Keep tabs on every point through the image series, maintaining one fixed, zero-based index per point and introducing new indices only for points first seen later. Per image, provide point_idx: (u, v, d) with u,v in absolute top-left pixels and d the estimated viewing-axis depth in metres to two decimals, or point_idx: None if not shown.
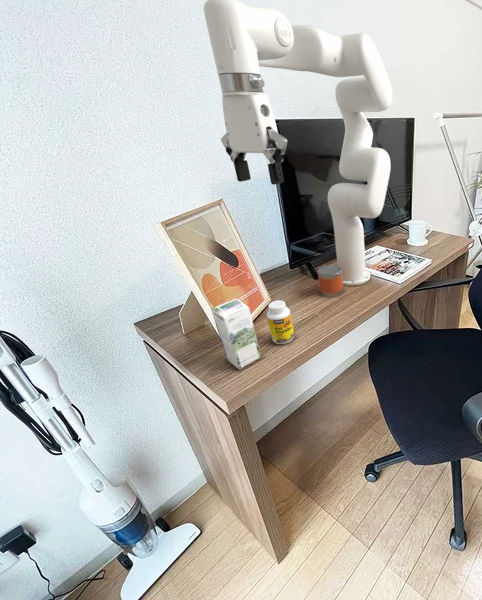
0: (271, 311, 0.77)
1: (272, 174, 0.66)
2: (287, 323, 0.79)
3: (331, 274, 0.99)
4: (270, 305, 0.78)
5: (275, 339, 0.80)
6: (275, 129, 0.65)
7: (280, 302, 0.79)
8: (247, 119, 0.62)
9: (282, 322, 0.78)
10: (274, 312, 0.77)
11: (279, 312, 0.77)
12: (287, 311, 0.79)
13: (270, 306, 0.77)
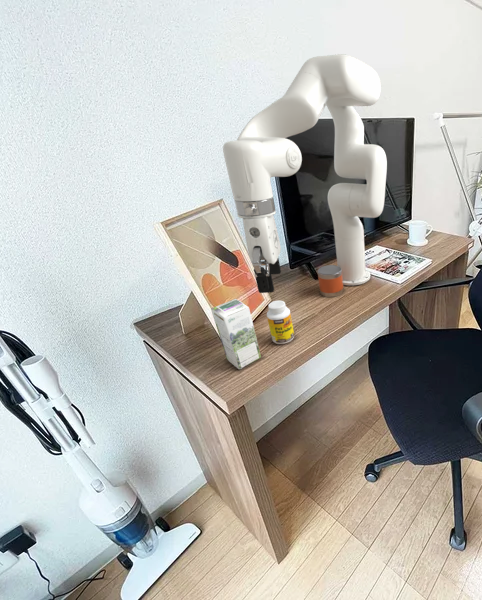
0: (271, 311, 0.77)
1: (258, 284, 0.69)
2: (287, 323, 0.79)
3: (331, 274, 0.99)
4: (270, 305, 0.78)
5: (275, 339, 0.80)
6: (266, 248, 0.66)
7: (280, 302, 0.79)
8: None
9: (282, 322, 0.78)
10: (274, 312, 0.77)
11: (279, 312, 0.77)
12: (287, 311, 0.79)
13: (270, 306, 0.77)
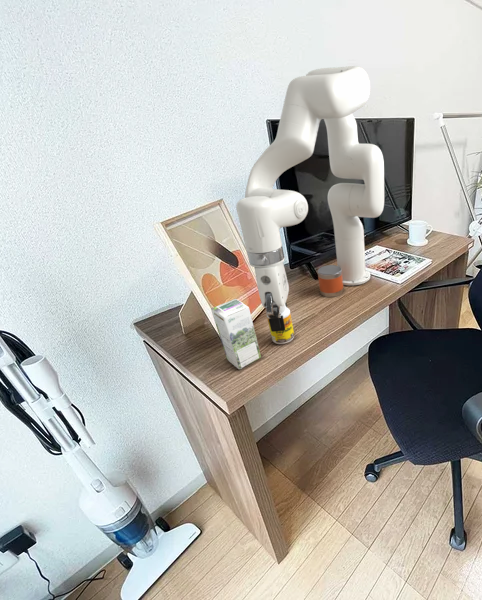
0: None
1: (271, 324, 0.77)
2: (287, 323, 0.79)
3: (331, 274, 0.99)
4: None
5: (275, 339, 0.80)
6: (276, 293, 0.71)
7: None
8: None
9: None
10: None
11: None
12: (287, 311, 0.79)
13: None
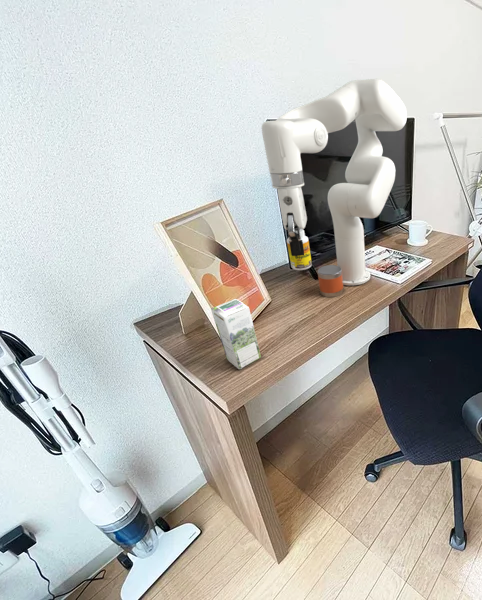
0: None
1: (291, 248, 0.83)
2: (306, 249, 0.85)
3: (331, 274, 0.99)
4: None
5: (294, 264, 0.86)
6: (297, 214, 0.77)
7: None
8: None
9: None
10: None
11: None
12: (306, 238, 0.85)
13: None
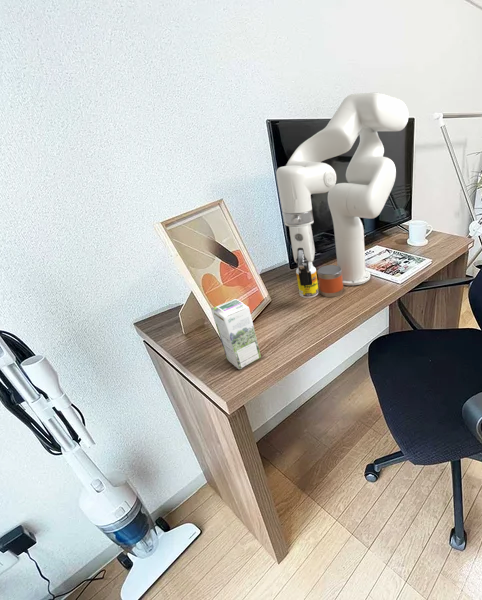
0: None
1: (300, 279, 0.89)
2: (314, 278, 0.91)
3: (331, 274, 0.99)
4: None
5: (302, 293, 0.93)
6: (307, 249, 0.84)
7: None
8: None
9: None
10: None
11: None
12: (313, 268, 0.91)
13: None
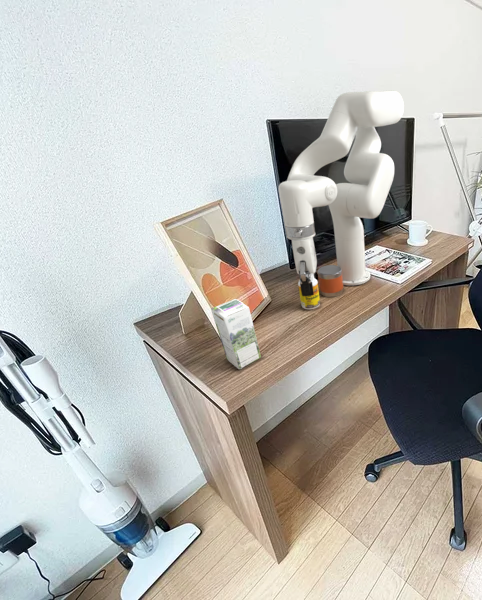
0: None
1: (302, 289, 0.89)
2: (315, 291, 0.93)
3: (331, 274, 0.99)
4: None
5: (304, 305, 0.94)
6: (309, 262, 0.86)
7: None
8: None
9: None
10: None
11: None
12: (315, 281, 0.93)
13: None
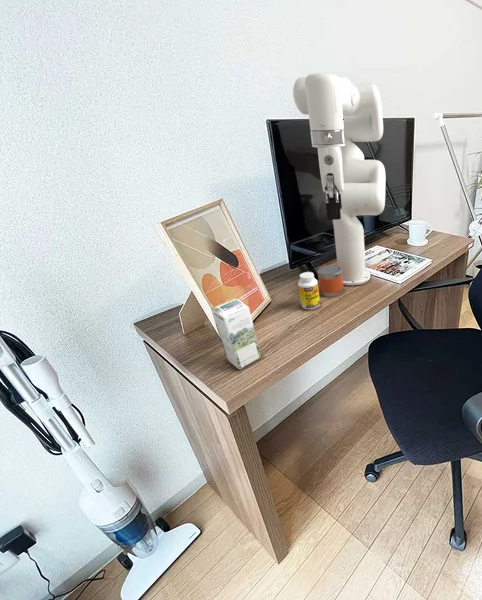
0: (302, 280, 0.91)
1: (327, 211, 0.77)
2: (315, 291, 0.93)
3: (331, 274, 0.99)
4: (301, 275, 0.92)
5: (304, 304, 0.94)
6: (337, 175, 0.74)
7: (309, 273, 0.93)
8: (319, 165, 0.75)
9: (311, 290, 0.92)
10: (305, 281, 0.91)
11: (308, 281, 0.92)
12: (315, 281, 0.93)
13: (301, 276, 0.92)
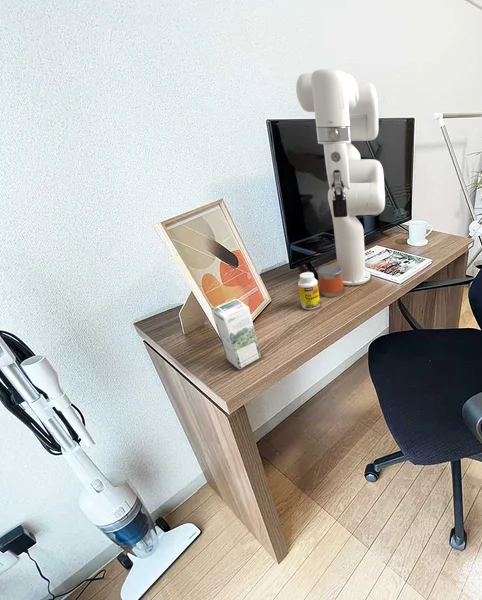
0: (302, 280, 0.91)
1: (334, 209, 0.77)
2: (315, 291, 0.93)
3: (331, 274, 0.99)
4: (301, 275, 0.92)
5: (304, 304, 0.94)
6: (344, 172, 0.73)
7: (309, 273, 0.93)
8: (325, 162, 0.74)
9: (311, 290, 0.92)
10: (305, 281, 0.91)
11: (308, 281, 0.92)
12: (315, 281, 0.93)
13: (301, 276, 0.92)
